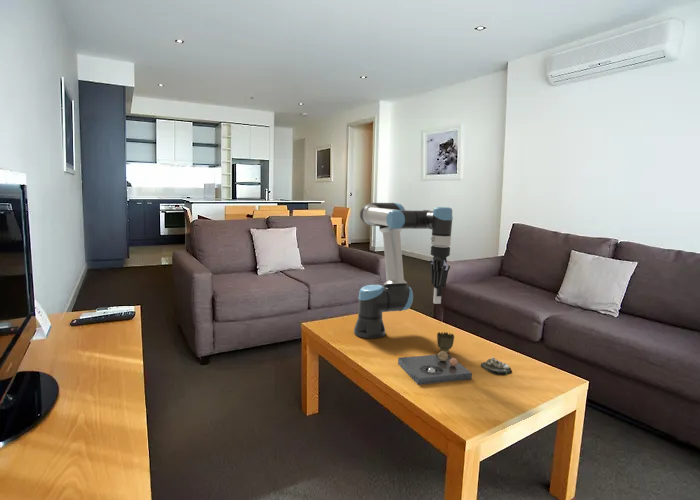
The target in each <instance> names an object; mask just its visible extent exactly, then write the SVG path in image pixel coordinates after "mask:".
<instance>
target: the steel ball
mask: <svg viewBox="0 0 700 500" xmlns="http://www.w3.org/2000/svg"><path fill="white" fill-rule="evenodd" d="M427 372H431V373H435V372H436V370H435V369H434V368H429V369H428V370H427Z"/></svg>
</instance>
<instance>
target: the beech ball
mask: <svg viewBox="0 0 700 500" xmlns="http://www.w3.org/2000/svg"><path fill="white" fill-rule="evenodd" d="M437 355H438V358H439V360H441V361H446V360H447V359H448V355H449V353H447V352H445V351H440V352H438V354H437Z"/></svg>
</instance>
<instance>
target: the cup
mask: <svg viewBox="0 0 700 500" xmlns="http://www.w3.org/2000/svg"><path fill="white" fill-rule="evenodd" d="M436 341H437V342H436V343H437V346H438V348H439V349H440V352H441V351H445V352H447V354H449V352H450V350H451V349H452V348H453V346H454V341H455V335H454V334H453V333H451V332H449V333H448V332H446V331H444V332H443V331H442V332H440V331H439V332H438V333H437V334H436Z"/></svg>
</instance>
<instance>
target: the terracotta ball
mask: <svg viewBox="0 0 700 500" xmlns="http://www.w3.org/2000/svg"><path fill="white" fill-rule="evenodd" d="M458 363H459V362H458V359H456V358H455V357H452V358H451V359H450V360H449V364H450V365H451V366H453V367H455V366H456V365H457V364H458Z"/></svg>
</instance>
